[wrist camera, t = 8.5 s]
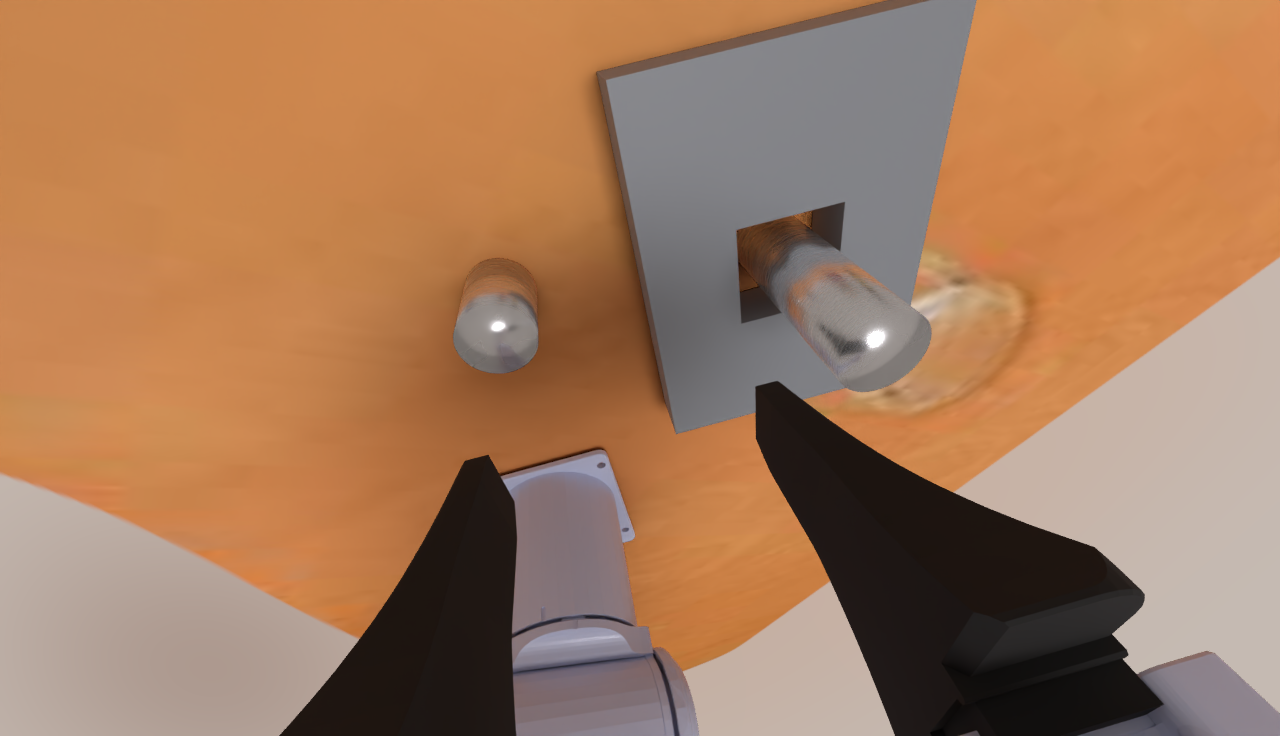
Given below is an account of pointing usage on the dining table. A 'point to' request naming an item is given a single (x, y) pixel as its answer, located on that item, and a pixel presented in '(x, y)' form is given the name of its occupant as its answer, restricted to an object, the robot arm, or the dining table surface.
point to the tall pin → (834, 304)
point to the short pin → (497, 317)
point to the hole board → (777, 180)
